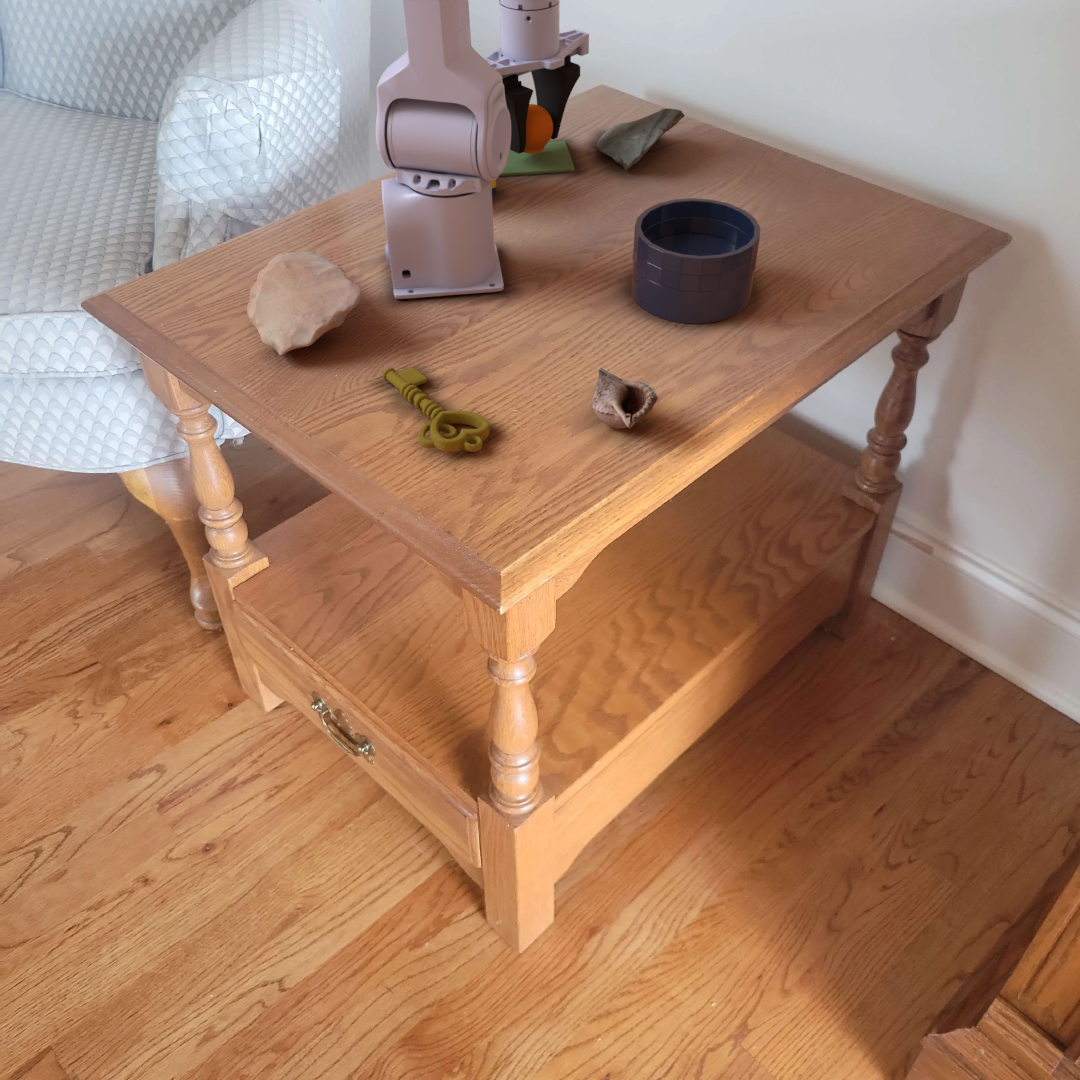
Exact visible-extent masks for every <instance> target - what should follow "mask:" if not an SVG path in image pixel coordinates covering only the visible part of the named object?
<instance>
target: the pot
mask: <svg viewBox="0 0 1080 1080" xmlns="http://www.w3.org/2000/svg"><path fill="white" fill-rule="evenodd" d="M761 229H762V228H761V226H760V224H759V223H758V221H757V219H756V217H754V215H752V214H751V213H749V212H748V211H746V210H745V209H743V208H741V207H738V206H736V205H734V204H731V203H728V202H724V201H720V200H715V199H709V198H697V197H695V198H694V197H693V198H692V197H691V198H689V197H688V198H677V199H671V200H666V201H662V202H658V203H656V204H654V205H652V206H650V207H647V208H646V209H644V211H642V212H641V213H640V214H639V215H638V217H636V220H635V225H634V233H633V234H634V235H633V250H632V251H633V252H632V260H633V261H632V279H631V293H632V297H633V298H634V301H635V302H636V303H637V304H638V305H639V306H640V307H641V308H642V309H643V310H644V311H646V312H647V313H649V314H651V315H653V316H655V317H658V318H659V319H663V320H666V321H671V322H674V323H681V324H683V323H684V324H691V325H692V324H694V325H697V324H710V323H711V324H712V323H716V322H721V321H724V320H728V319H731V318H733V317H734V316H736V315H738V314H740V313H741V312H742V311H743V310H744V309H745V308H746V307H747V306H748V304H749V303H750V300H751V294H752V289H753V282H754V276H755V270H756V265H757V258H758V252H759V247H760V246H759V245H760V239H761Z"/></svg>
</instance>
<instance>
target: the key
mask: <svg viewBox="0 0 1080 1080" xmlns="http://www.w3.org/2000/svg"><path fill="white" fill-rule="evenodd" d="M382 379H383V380H384V381H385V382H389V383H390V384H391V385H393V386H394V387H395V388H396V389H398V390H399V394H400V397H402V398H404V400H405V401H407V402H408V403H409V404H410V405H414V407H415V409H417V410H419V411H421V412H422V414H423V415H424V416H425V417H427V419H429V420H431V422H424V424H423V425H422V426H421V428H420V429H419V431H418V434H417V442H418V444H419V445H420V446H422V447H423V448H425V449H435V448H436V449H437V450H439V451H441V452H443V453H453V452H458V451H460V450H462V449H464V450H465V451H467V452H471V453H475V452H478V451H480V450H482V448H483V444H484V442H483V441H484V440H486V439H487V438H488V437H489V436H490V432H491V424H490V422H489V421H488V419H486V418H485V417H483V416H482V415H480V414H478V413H475V412H472V411H467V410H446V409H445V408H444V407H442V406H441V405H440V404H439V403H437V402H436V400H432V399H431V398H430V396H429V395H428V394H426V393H423V391H422V389H420V388H419V387H418V386H420V385H423V384H426V383H427V377H426V376H425V375H424V374H422V373H421V372H420V371H419V370H418V369H416V368H415V367H413V366H410V367H407V368H405V369H402V370H398V371H396V369H395V368H394V367H393V368H392V367H388V368H386V369H385V370H383V373H382ZM451 424H461V425H462V424H463V425H466V426H471V427H474V428H461V430H460V433H458V431H457V428H455V426H453V425H451ZM428 432H429V436H430V439H427V438H426V434H427V433H428ZM440 432H443V433H440Z"/></svg>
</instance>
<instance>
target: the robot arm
mask: <svg viewBox="0 0 1080 1080" xmlns="http://www.w3.org/2000/svg"><path fill="white" fill-rule="evenodd" d="M469 3H470V2H469V0H401V6H402V14H403V23H404V24H403V25H404V33H405V34H404V35H405V43H406V51H405V52H404V53H403V54H402V55H400V56H399V57H398V58H396V60H395V61H394V62H392V63H391V64H390V65H388V66H387V68H386V69H384V71H383V72H382V74H381V75H380V78H379V81H378V82H377V85H376V90H375V91H376V93H375V94H376V118H375V142H376V148H377V150H378V154H379V156H380V158H381V159H382V161H383V163H384V164H385V166H386V167H387V168H388V169H390V170H392V171H393V170H394V171H395V177H390V178H384V179H381V184H380V185H381V197H382V199H381V200H382V209H383V218H384V226H385V236H386V242H387V243H385V245H384V246H385V258H386V265H387V266H390V274H391V281H392V288H393V289H392V290H393V297H394V298H395V299H396V300H407V299H420V298H433V297H445V296H447V297H448V296H457V295H471V294H482V293H483V294H484V293H497V292H502V291H504V289H505V284H504V278H503V273H502V268H501V263H500V257H499V252H498V248H497V243H495V227H494V225H495V224H494V207H493V195H492V183H491V181H494V180H496V181H497V179H498V178H499V177H498V176H499V175H500V174H501V173H502V172H503V170H504V169H505V167H506V164H507V161H508V157H509V152H510V150H512V151H514V152H516V153H522V152H524V151H525V145H526V120H527V112H528V107H529V104H531V99H532V96H533V93H534V90H535V97H536V105H539V106H541V107H543V108H544V109H545V110H546V111H547V112H548V113H549V114H550V116H551V118H552V122H553V133H552V136H551V138H550V140H556V139H557V138H558V137H559V132H560V129H561V126H562V125H561V124H562V121H563V118H564V117H563V116H564V113H565V110H566V106H567V104H568V101H569V99H570V95H571V93H572V92H573V89H574V87H575V86H576V84H577V82H578V80H579V78H580V77H581V66H580V64H578V63H575V62H572V61H571V60H572V57H574V56H580V57H583V56H585V55H588V54H589V52H590V33H588V32H584V31H582V30H579V29H576V28H575V29H572V30H569V31H563V32H560V0H498V9H499V33H500V35H499V36H500V47H498V48H497V49H496V50H495V51H493V52H492V53H490V54H489V55H487V56H486V57H485V58H484V57H483V56H482V55H481V54H480V53H478V51H476V50H475V49H474V47H473V46H472V37H471V36H472V35H471V21H470V19H471V18H470V6H469V5H470V4H469ZM528 73H531V76H532V80H533V85H534V90H533V89H532V88H529V87H527V86H525V85H522V80H519V77H520V76H523V75H525V74H528Z"/></svg>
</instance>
